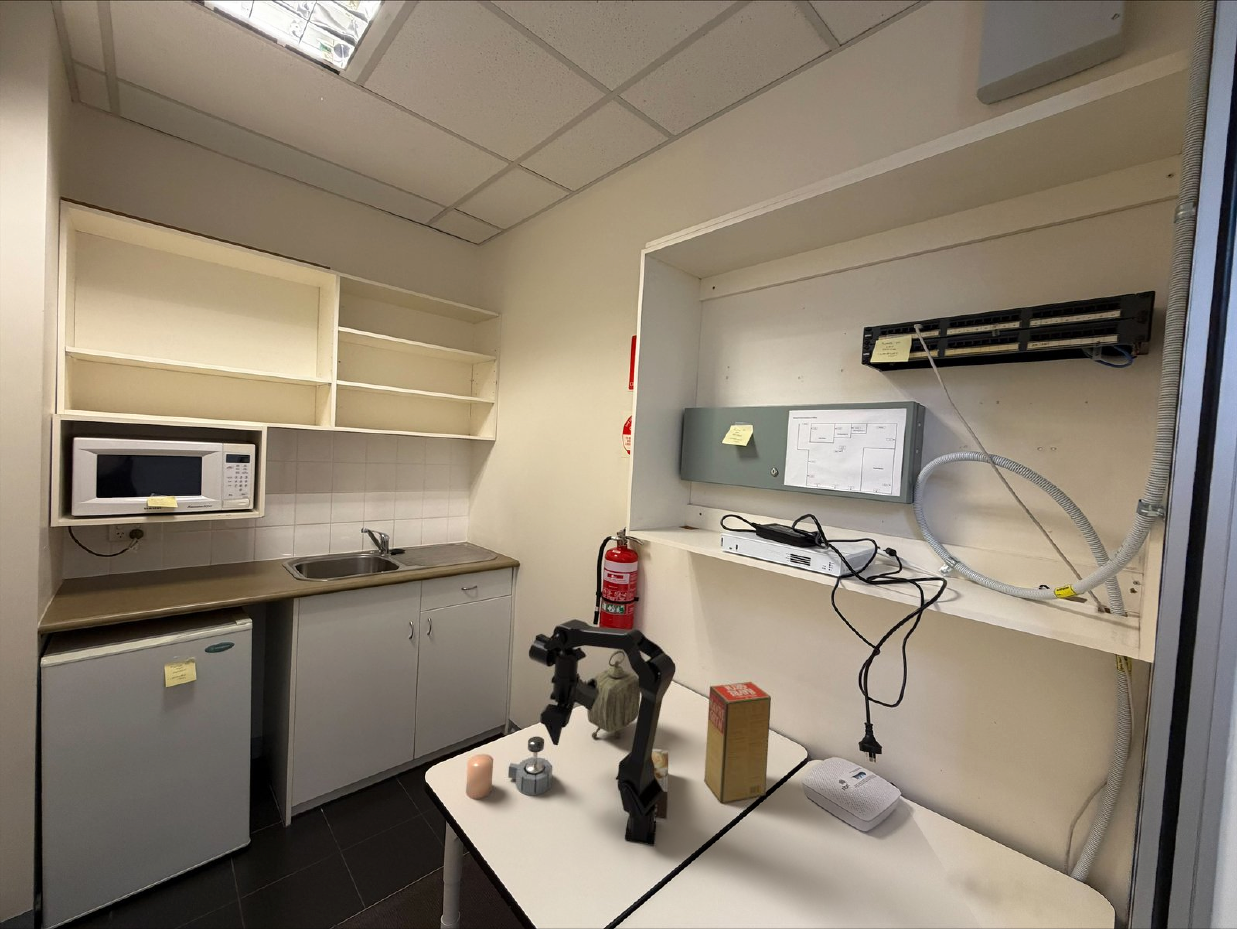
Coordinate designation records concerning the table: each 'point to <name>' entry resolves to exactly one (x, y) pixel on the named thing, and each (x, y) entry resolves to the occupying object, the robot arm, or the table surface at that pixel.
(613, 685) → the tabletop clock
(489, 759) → the peach rounded cylinder
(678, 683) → the table surface
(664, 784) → the coffee box
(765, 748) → the food packaging
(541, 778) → the grey octagonal base
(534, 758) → the plunger
